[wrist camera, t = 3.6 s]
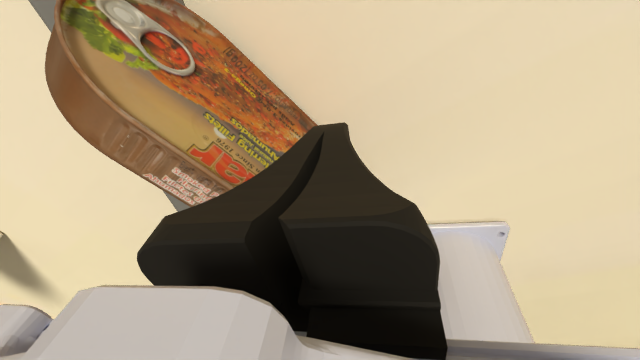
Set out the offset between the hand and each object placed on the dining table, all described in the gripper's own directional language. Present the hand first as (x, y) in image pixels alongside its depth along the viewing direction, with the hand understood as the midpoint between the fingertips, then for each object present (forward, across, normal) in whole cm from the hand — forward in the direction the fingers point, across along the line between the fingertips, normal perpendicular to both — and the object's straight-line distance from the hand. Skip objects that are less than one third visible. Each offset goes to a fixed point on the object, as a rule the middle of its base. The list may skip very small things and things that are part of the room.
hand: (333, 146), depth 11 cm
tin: (+6, +5, 0) cm, 8 cm away
